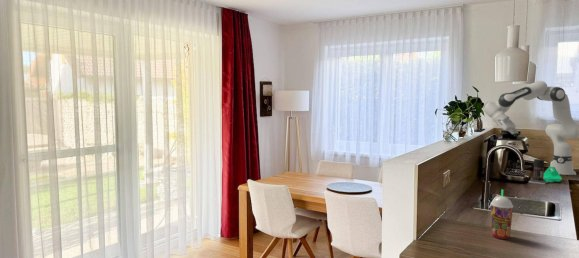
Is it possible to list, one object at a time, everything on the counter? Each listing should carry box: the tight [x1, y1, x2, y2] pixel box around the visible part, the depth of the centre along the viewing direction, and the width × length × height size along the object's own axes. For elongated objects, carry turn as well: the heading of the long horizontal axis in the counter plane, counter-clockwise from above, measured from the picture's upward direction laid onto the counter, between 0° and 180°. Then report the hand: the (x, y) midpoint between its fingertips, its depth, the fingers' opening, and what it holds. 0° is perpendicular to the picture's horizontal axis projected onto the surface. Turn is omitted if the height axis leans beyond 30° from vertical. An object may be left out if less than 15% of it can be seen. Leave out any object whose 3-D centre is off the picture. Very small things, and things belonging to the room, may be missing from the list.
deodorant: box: [532, 158, 545, 180], centre depth 270 cm, size 6×6×15 cm
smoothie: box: [490, 189, 514, 240], centre depth 161 cm, size 8×8×20 cm
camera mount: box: [543, 166, 563, 183], centre depth 275 cm, size 12×8×10 cm, turn 44°
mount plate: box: [528, 177, 549, 185], centre depth 270 cm, size 10×10×2 cm
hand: (515, 133), depth 283 cm, fingers open, 8 cm apart
